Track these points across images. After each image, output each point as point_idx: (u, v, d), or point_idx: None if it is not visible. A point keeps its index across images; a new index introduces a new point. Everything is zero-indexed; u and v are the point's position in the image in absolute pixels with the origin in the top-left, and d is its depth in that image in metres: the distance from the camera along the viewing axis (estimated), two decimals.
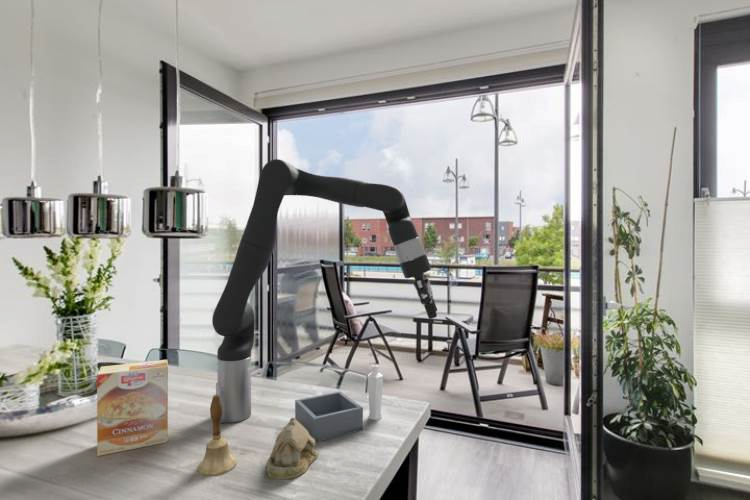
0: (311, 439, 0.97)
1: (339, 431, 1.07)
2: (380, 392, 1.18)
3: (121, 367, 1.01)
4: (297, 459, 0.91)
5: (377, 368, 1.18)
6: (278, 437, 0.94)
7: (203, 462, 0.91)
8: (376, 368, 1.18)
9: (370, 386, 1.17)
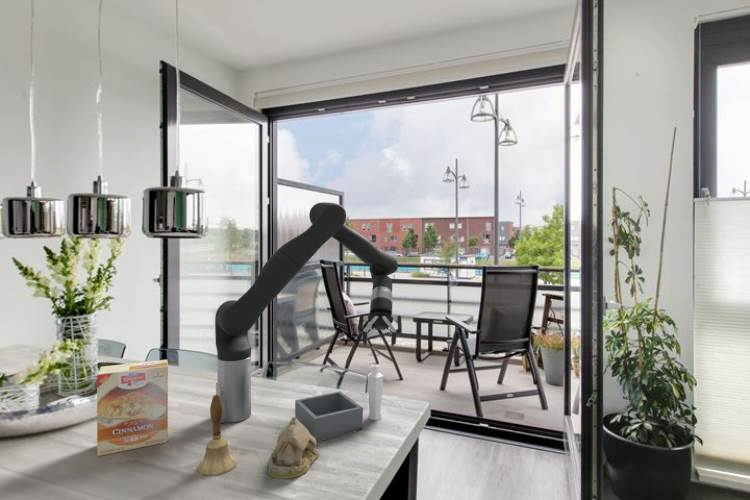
0: (312, 438, 0.97)
1: (339, 431, 1.07)
2: (380, 392, 1.18)
3: (121, 367, 1.01)
4: (299, 458, 0.91)
5: (377, 368, 1.18)
6: (280, 437, 0.94)
7: (203, 462, 0.91)
8: (376, 368, 1.18)
9: (370, 386, 1.17)
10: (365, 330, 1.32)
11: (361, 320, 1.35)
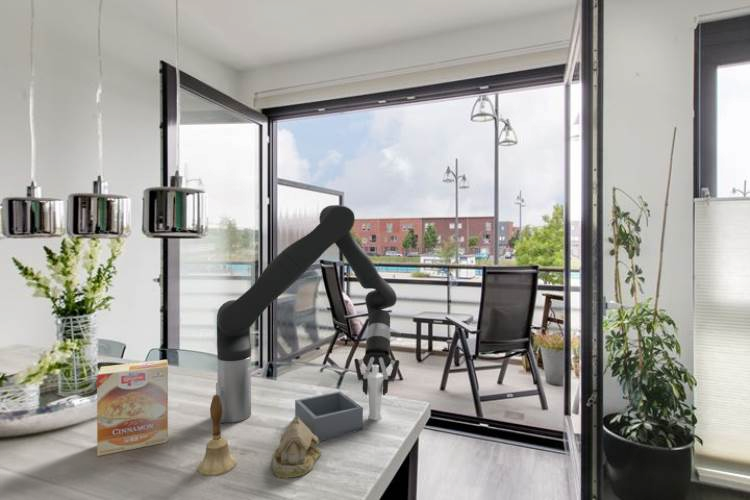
0: (314, 437, 0.98)
1: (339, 431, 1.07)
2: (380, 392, 1.18)
3: (121, 367, 1.01)
4: (303, 457, 0.91)
5: (377, 368, 1.18)
6: (283, 436, 0.94)
7: (203, 462, 0.91)
8: (376, 368, 1.18)
9: (370, 386, 1.17)
10: (366, 377, 1.19)
11: (358, 365, 1.22)
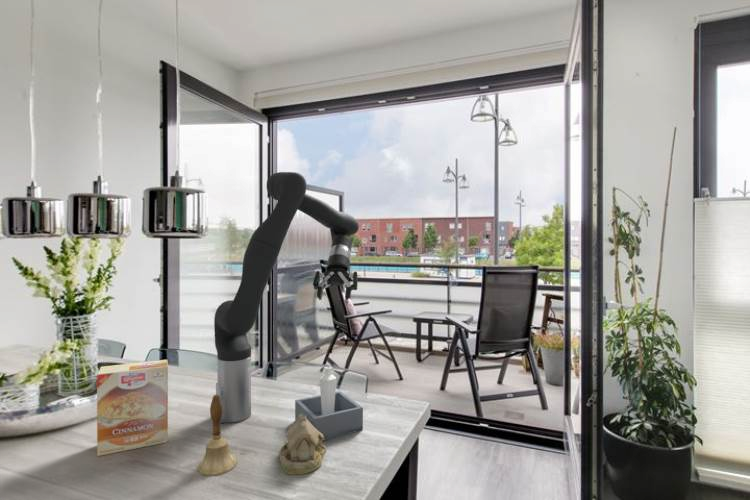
0: (320, 433, 0.99)
1: (339, 431, 1.07)
2: (333, 395, 1.12)
3: (121, 367, 1.01)
4: (313, 453, 0.93)
5: (330, 370, 1.13)
6: (290, 434, 0.95)
7: (203, 462, 0.91)
8: (329, 370, 1.12)
9: (322, 388, 1.12)
10: (320, 285, 1.32)
11: (317, 276, 1.35)
